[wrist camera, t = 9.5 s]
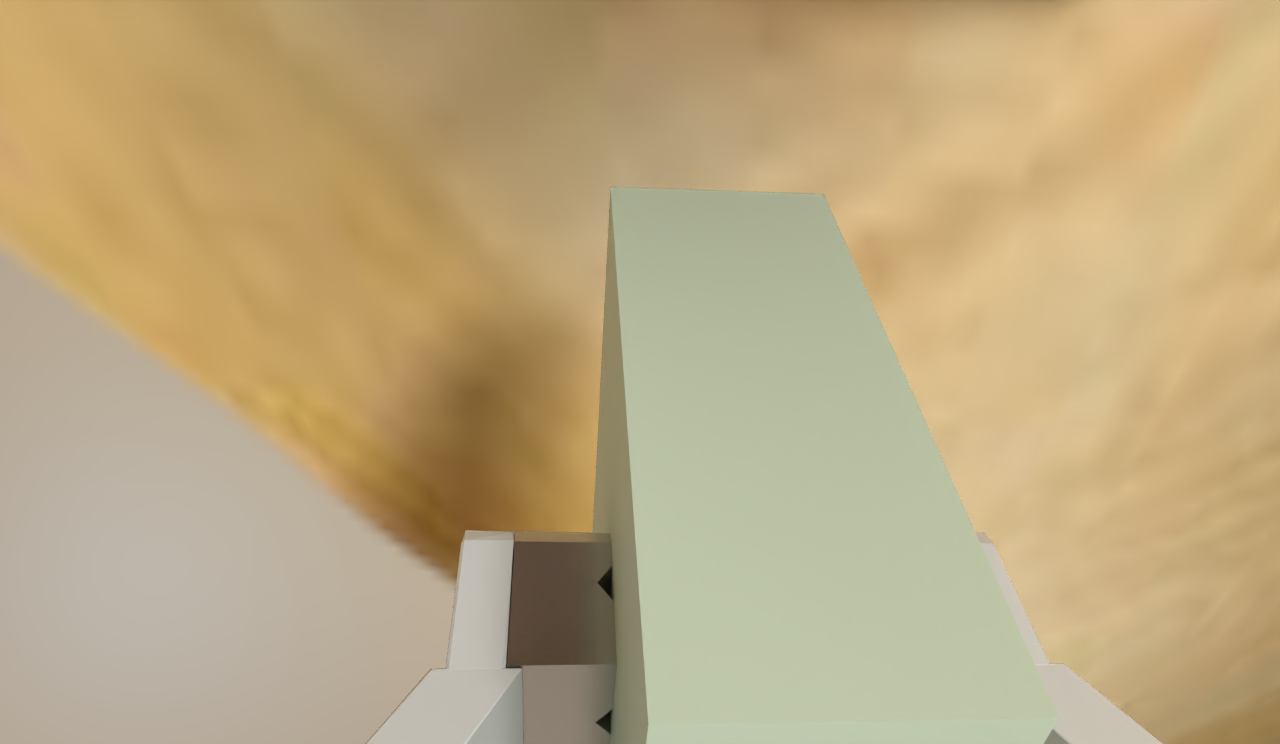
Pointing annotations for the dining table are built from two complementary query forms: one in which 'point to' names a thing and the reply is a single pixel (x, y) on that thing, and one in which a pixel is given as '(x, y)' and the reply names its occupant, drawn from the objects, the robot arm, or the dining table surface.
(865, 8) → the dining table surface
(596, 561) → the robot arm
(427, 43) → the dining table surface
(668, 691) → the pale green brick
